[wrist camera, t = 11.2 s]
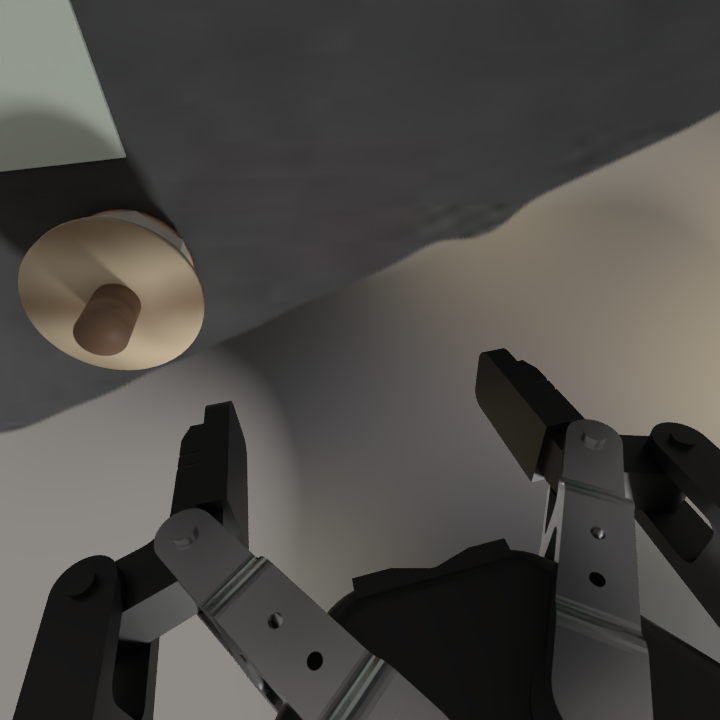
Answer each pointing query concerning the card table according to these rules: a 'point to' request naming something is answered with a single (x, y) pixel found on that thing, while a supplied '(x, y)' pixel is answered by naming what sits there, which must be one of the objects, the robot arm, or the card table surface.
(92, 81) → the mat
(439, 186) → the card table surface
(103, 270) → the lid
